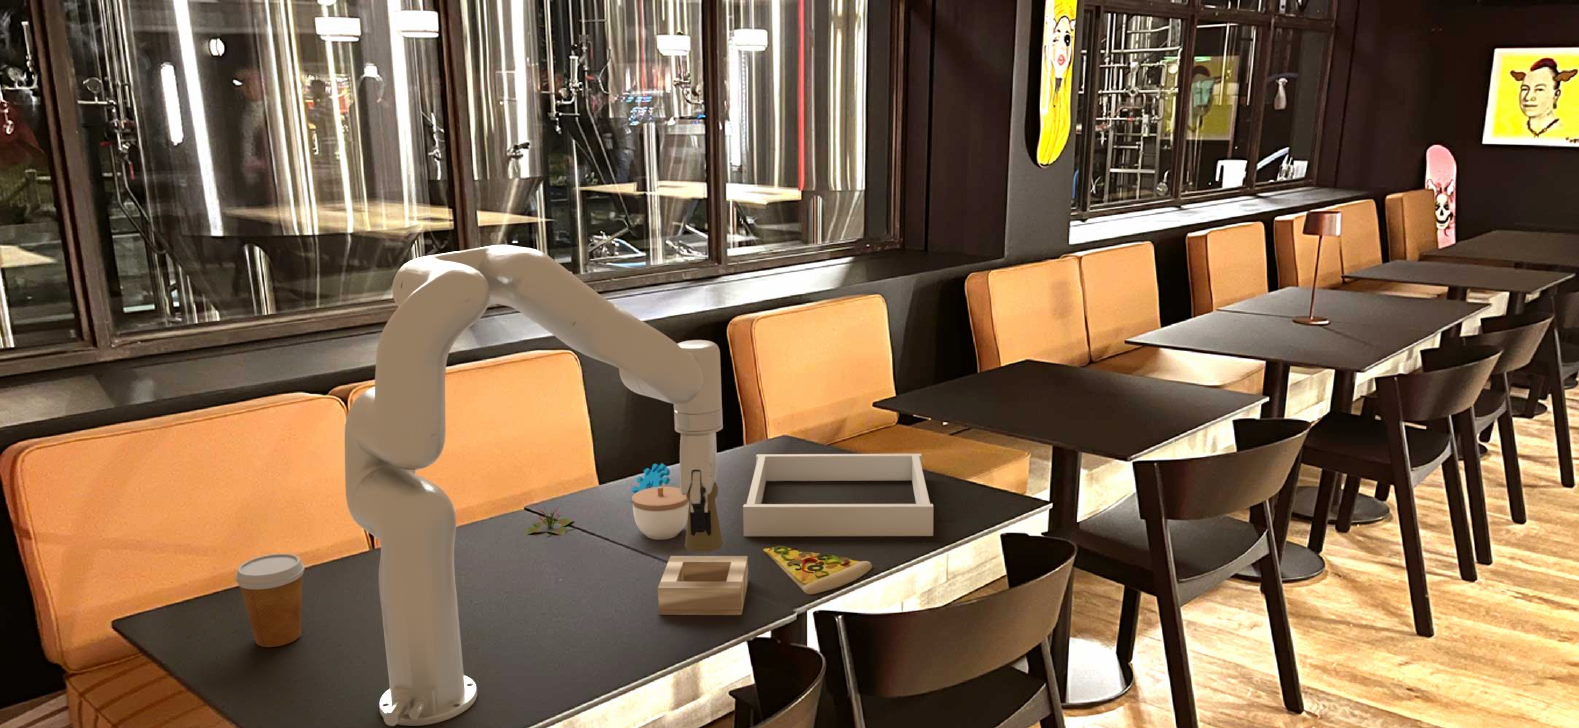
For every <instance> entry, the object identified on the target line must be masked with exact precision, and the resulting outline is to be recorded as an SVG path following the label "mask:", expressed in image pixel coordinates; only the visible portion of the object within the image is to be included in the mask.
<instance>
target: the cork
mask: <svg viewBox="0 0 1579 728" xmlns="http://www.w3.org/2000/svg"><path fill="white" fill-rule="evenodd" d="M704 492H705V489H701V493H704ZM718 492H719V487H718V484H717V483H716V481H715V482H714V485H713V489H712V492H711V493H710V494H708V502H709V511H711V535H709V536H708V535H707V532H706V530H705V531H704V532H701V533H699V532H696V533H695V536H693V535H691V524H690V511H691V509H690V488H689V490H688V493H687V494H686V497H687V499H688V500H689V508H688V519H687V523H686V532H685V543H684V547H685V549H686V550H688V551H691V552H696V553H707V552H713V551H714V552H715V551H717V550H719V549H720V548H722V547H723V545H724V544H723V538H722V537H723V536H722V534H721V527H720V521H719V516H718V509H717V504H716V498H717V496H718ZM701 499H703V500H704V497H701Z"/></svg>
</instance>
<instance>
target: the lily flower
mask: <svg viewBox="0 0 1579 728" xmlns="http://www.w3.org/2000/svg"><path fill="white" fill-rule="evenodd" d="M542 508H543V509H544V510H546V508H545V506H542ZM559 508H560V506H557V507H556V509H554V511H553V510H551V512H549V514H550V516H549V514H548V511H545V512H544V511H543V510H541V509H540V508H539V509H538V508H537V511H538V512H541V513H542V514H543V515H544V516H545V518H544V517H543V516H541V515H539V517H538V520H540V521H541V522H539V521H534V522H533V524H534V525H535V526H533V527H529V528H527V529H524V530H525V532H524V534H529V533H530V534H531V533H544V532H547V533H548V532H549V533H554V534H556V535H559V536H562V534H563V535H566V533H567V528H566V527H565V526H567V525H569V524H570V523H572V519H570V518H560V517H561V514H560V515H559V513H556V514H555V512H556V511H558V509H559ZM554 515H555V516H554ZM558 518H560V519H558ZM543 524H545V526H546V527H547V528H548V529H550V528H553V526H554V524H561V525H560V528H558V529H557V530H547V531H546V530H539V529H540V527H541V526H542V525H543ZM529 525H531V524H529ZM572 526H573V527H577V525H576V524H572ZM570 530H573V528H572V529H569V531H570ZM535 536H536V538H539V535H538V534H535ZM549 536H551V534H548V535H546V538H549Z"/></svg>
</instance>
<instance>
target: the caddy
mask: <svg viewBox="0 0 1579 728" xmlns="http://www.w3.org/2000/svg"><path fill="white" fill-rule="evenodd" d="M748 557H749V556H748V555H670V557H669V559H668V561H667V564H666V567H665V569H664V572H663V574H662V577H661V580H660V581H659V584H658V587H657V595H658V598H657V599H658V600H657V601H658V615H659V616H665V615H666V616H670V615H671V616H674V615H677V616H687V615H688V616H742V614H743V610H744V606H745V605H744V604H745V599H746V594H747V589H748V583H749V562H748V561H749V558H748Z"/></svg>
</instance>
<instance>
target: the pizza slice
mask: <svg viewBox="0 0 1579 728" xmlns="http://www.w3.org/2000/svg"><path fill="white" fill-rule="evenodd" d="M763 552H764V553H766V554H767V555H768V556H769V557H770V558H771V559H772V560H773V562H775V563H776V564H777V565H778V567H779V568H781V570H782V571H783V572H784V573H786V574H787V576H788V577H789V578H790V579H792V581H793V582H794V583H795V584H797V586H798V587H799V588H800V589H801V590H802V591H803V592H804V593H805V594H806V595H815V594H819V593H822V592H827V591H830V590H832V589H833V590H834V589H837V588H840V587H842V586H845V585H847V584H850V583H851V582H853V581H856V580H857V579H859V578H860V577H862V576H864V575H865V574H867V573H869V571H870V570H872V568H873V564H872V563H871V562H870V561H868V560H863V561H859V560H853V559H851V558H849V557H847V556H846V557H843V556H840V555H839V556H835V555H833V554H830V553H820V552H817V553H816V552H810V551H801V549H800V548H798V547H794V548H793V547H792V548H790V547H787V546H784V545H777V546H774V547H773V546H772V547H771V548H763Z"/></svg>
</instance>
